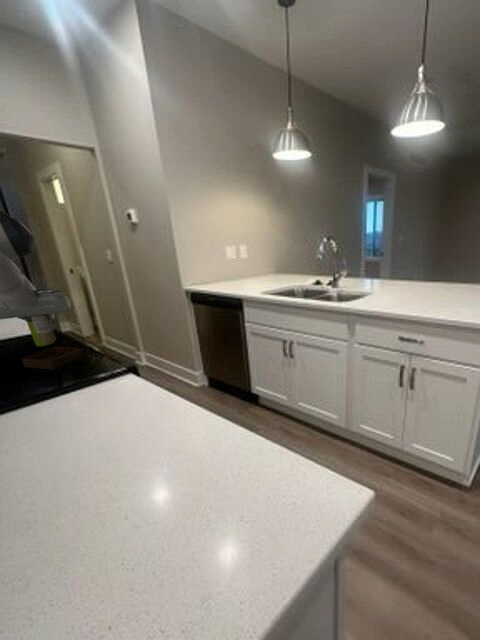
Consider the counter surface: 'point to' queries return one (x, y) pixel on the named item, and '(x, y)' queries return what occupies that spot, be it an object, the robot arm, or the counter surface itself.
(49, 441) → the counter surface
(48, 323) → the sprinkles bottle
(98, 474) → the counter surface
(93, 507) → the counter surface
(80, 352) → the food tray
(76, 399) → the counter surface
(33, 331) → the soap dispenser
